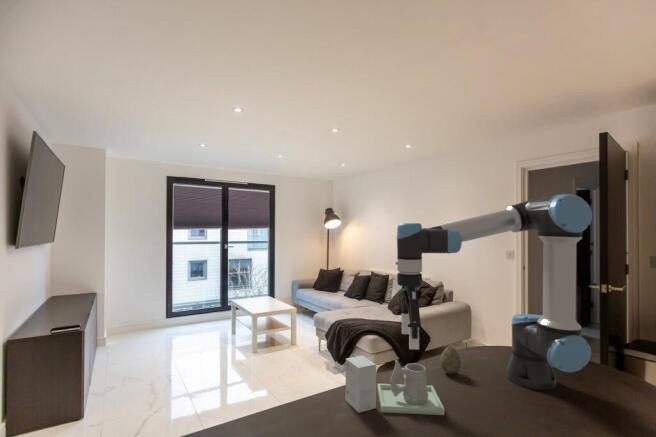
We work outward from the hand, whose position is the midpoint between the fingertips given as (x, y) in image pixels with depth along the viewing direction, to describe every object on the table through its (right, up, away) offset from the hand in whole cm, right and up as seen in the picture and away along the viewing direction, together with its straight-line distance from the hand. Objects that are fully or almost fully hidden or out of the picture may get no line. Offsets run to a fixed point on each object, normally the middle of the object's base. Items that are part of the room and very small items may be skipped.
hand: (409, 341), depth 106 cm
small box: (-16, -19, -2) cm, 24 cm away
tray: (-1, -19, 0) cm, 19 cm away
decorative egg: (+20, -19, +20) cm, 34 cm away
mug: (0, -18, -1) cm, 18 cm away
